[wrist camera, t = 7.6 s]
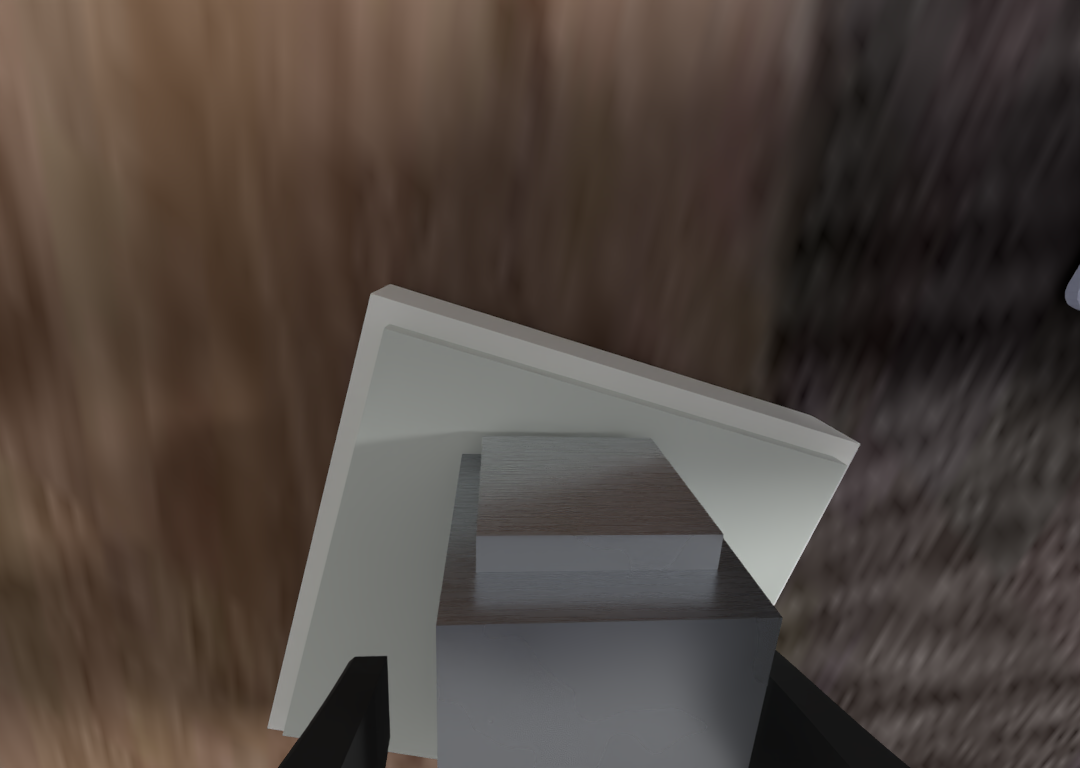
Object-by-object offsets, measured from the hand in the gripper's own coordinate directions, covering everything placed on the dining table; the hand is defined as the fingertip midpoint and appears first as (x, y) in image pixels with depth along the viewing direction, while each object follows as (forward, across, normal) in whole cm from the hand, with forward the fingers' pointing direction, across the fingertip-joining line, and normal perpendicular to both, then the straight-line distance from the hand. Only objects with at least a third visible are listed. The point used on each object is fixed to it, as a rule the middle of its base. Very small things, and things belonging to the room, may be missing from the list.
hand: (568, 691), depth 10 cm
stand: (+5, 0, 0) cm, 5 cm away
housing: (+2, 0, 0) cm, 2 cm away
